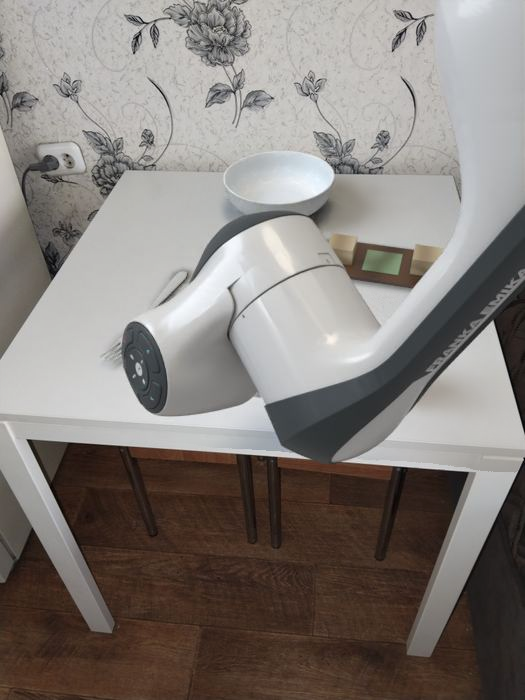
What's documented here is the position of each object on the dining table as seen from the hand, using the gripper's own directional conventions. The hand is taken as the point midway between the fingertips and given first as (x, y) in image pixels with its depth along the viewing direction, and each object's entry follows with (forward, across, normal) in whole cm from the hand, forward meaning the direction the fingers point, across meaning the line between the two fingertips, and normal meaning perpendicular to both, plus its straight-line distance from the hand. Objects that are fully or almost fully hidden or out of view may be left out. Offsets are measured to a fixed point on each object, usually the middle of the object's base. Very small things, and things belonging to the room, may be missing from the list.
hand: (368, 329), depth 64 cm
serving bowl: (+34, +46, +4) cm, 57 cm away
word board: (+33, +20, +3) cm, 39 cm away
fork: (+1, +36, +20) cm, 41 cm away
